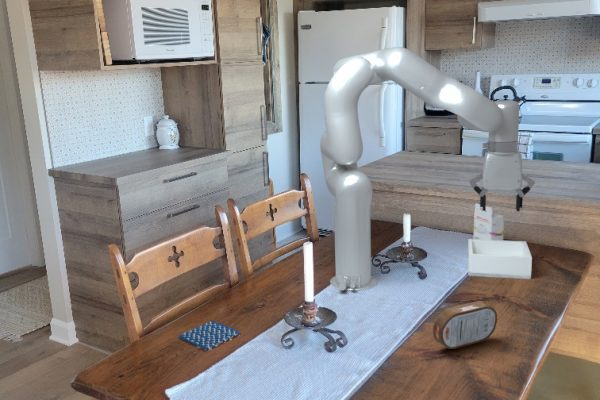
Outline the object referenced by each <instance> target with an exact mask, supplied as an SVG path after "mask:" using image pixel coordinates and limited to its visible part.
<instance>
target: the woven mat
mask: <svg viewBox="0 0 600 400" xmlns="http://www.w3.org/2000/svg"><path fill="white" fill-rule="evenodd" d="M195 327H196V326H195ZM241 335H242V333H241V331H239V329H234V328H233V327H229V326H228V325H225V324H224V323H221V324H220V322H215V320H211V321H209V322H206V323H204V324H200V326H198V327H196V328H192V329H190V330H189V331H185V332H184V333H182V334H180V335H178V338H179V339H182V340H183V341H186V342H187V343H190V344H192V345H193V346H194V345H195V346H196V348H197V349H198V350H202V352H203V353H206V352H209V351H212V350H213V348H216V347H218V346H219V347H221V346H220V345H222V344H226V343H227V341H232V340H233V339H235V338H237V337H241Z"/></svg>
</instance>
